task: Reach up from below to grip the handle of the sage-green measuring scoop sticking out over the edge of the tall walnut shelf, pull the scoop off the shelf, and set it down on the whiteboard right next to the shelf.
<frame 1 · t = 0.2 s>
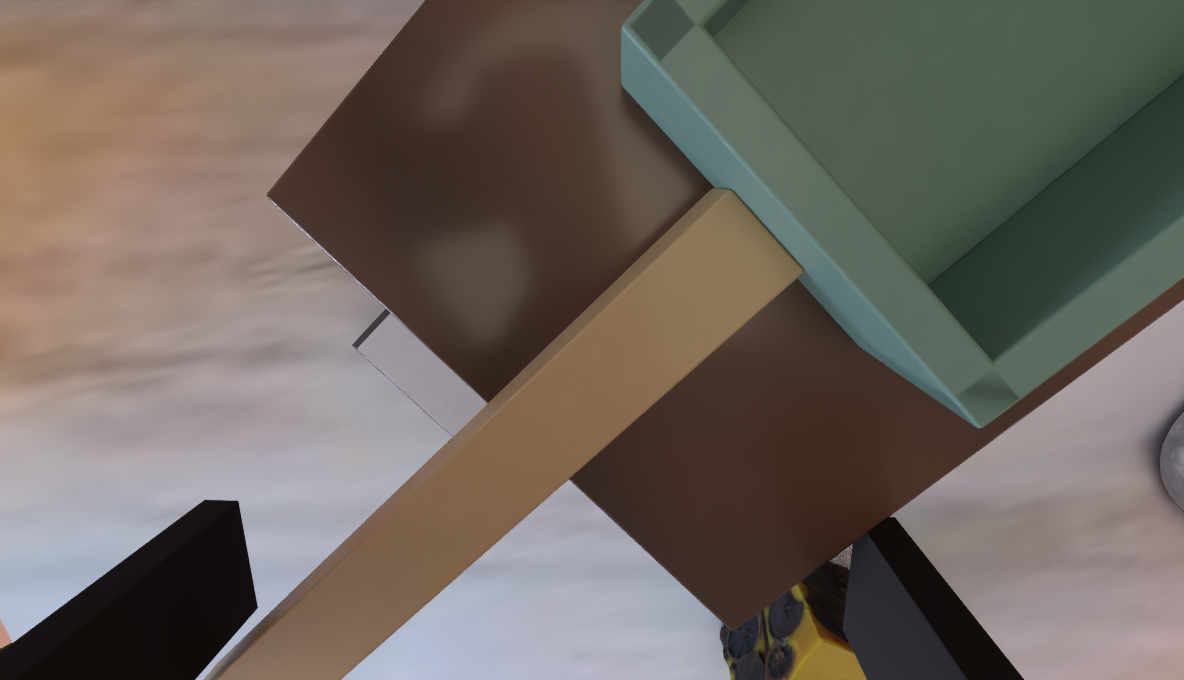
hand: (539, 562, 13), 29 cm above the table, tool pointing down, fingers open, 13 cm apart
scoop: (922, 58, 9), point 30 cm above the table, touching shelf
candle: (802, 609, 47), on the table
whiteboard: (507, 334, 42), on the table
shelf: (668, 175, 38), on the table
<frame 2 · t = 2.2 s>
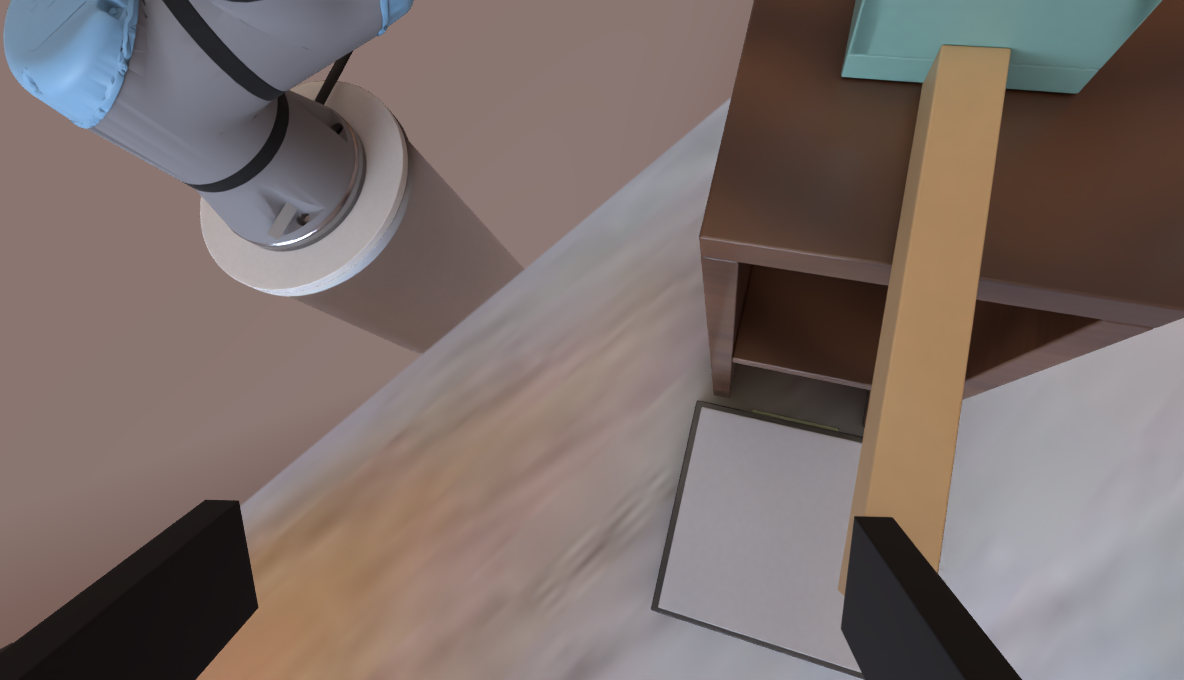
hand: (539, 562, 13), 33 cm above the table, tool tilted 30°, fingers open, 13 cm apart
whiteboard: (772, 526, 42), on the table
shelf: (810, 324, 45), on the table
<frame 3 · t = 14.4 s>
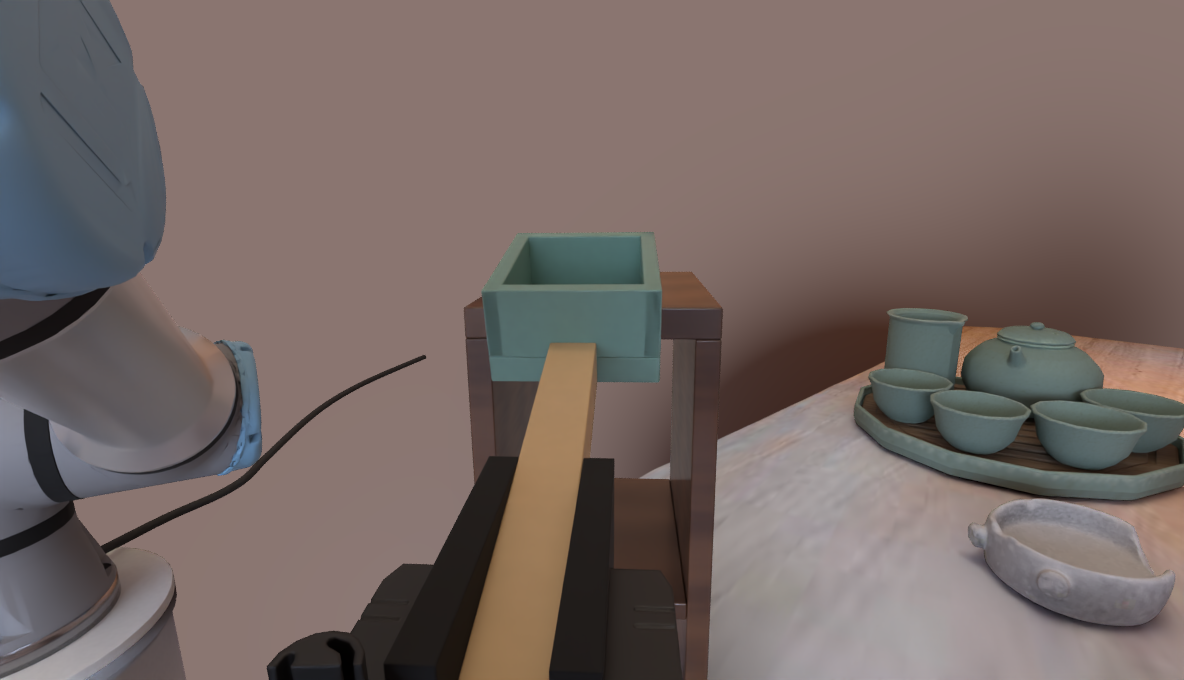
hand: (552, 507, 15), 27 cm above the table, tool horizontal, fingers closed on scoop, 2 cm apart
tea set: (1001, 439, 87), on the table
scoop: (581, 339, 24), point 29 cm above the table, tilted 13°, touching gripper, shelf
dish: (1062, 582, 54), on the table
when the fingers open (11 cm above the table, at t = 19.3 s): scoop drops 9 cm, resting on whiteboard.
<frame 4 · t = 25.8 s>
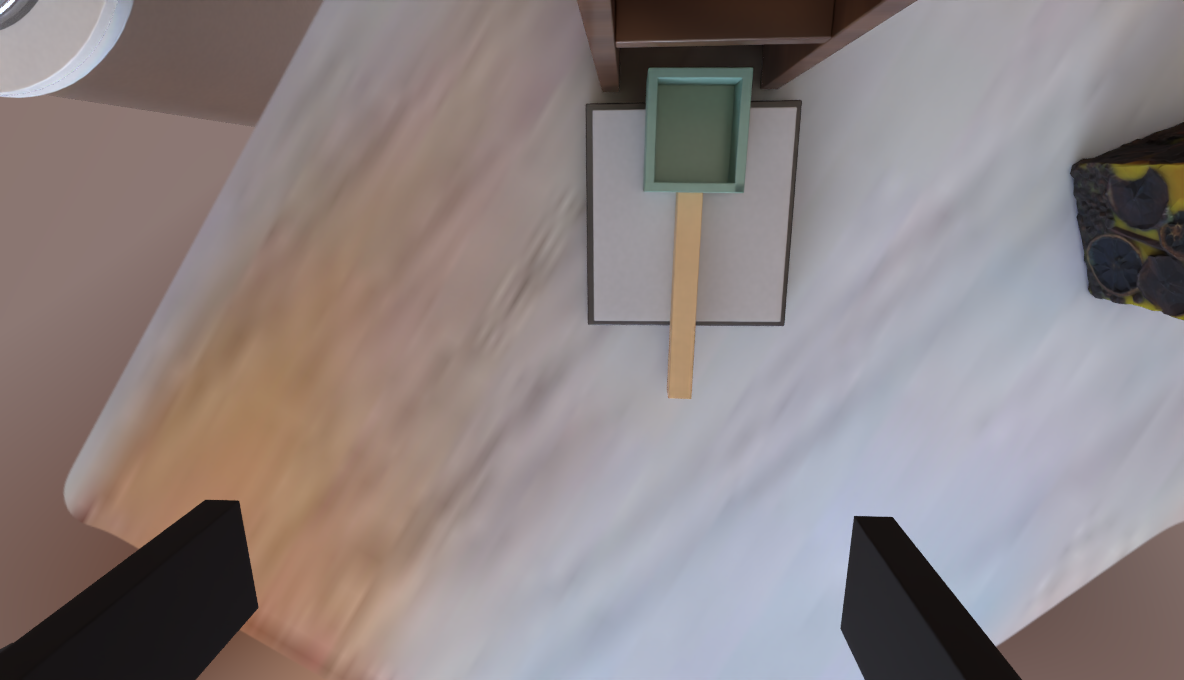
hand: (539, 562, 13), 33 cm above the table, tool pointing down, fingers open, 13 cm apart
scoop: (691, 136, 38), point 3 cm above the table, touching whiteboard
candle: (1151, 207, 40), on the table
whiteboard: (685, 217, 42), on the table
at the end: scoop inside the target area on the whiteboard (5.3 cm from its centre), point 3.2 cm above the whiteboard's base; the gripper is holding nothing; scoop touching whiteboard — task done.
